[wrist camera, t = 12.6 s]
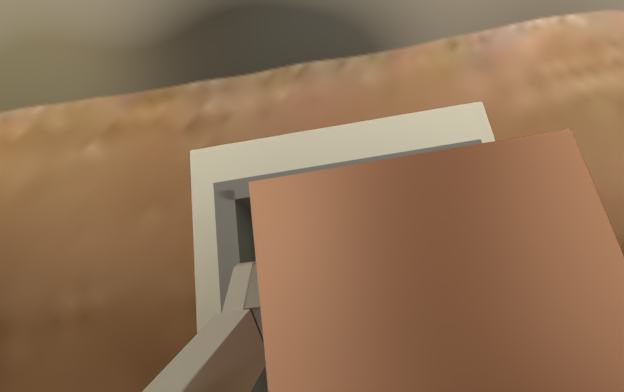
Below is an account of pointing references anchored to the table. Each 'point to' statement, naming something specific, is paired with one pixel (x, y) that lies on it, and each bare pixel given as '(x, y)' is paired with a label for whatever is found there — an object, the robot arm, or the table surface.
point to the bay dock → (294, 160)
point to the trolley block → (442, 273)
